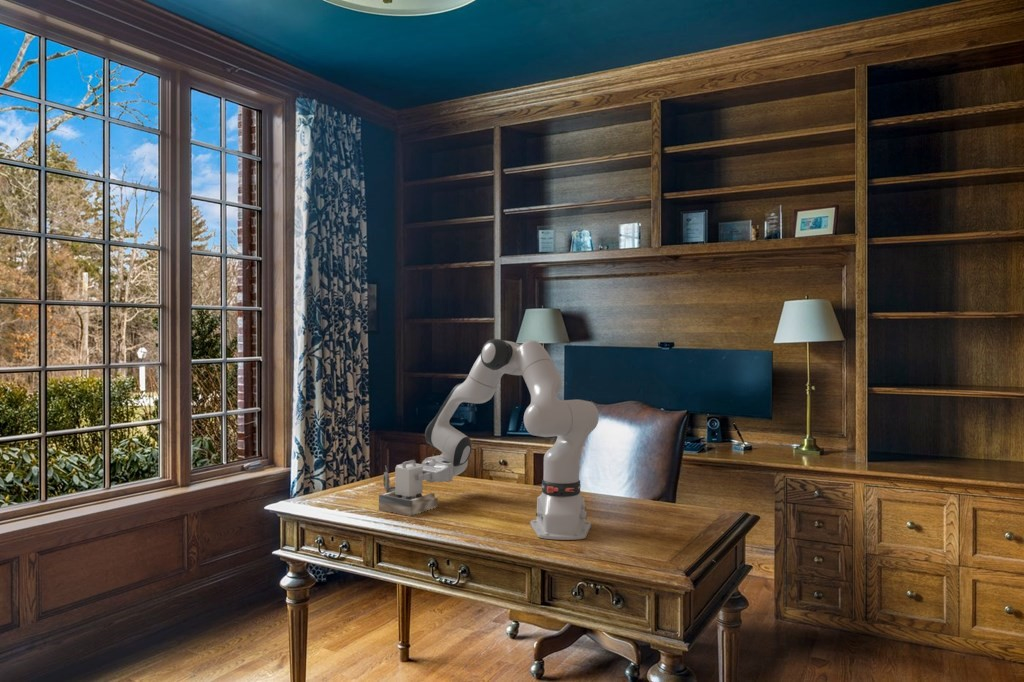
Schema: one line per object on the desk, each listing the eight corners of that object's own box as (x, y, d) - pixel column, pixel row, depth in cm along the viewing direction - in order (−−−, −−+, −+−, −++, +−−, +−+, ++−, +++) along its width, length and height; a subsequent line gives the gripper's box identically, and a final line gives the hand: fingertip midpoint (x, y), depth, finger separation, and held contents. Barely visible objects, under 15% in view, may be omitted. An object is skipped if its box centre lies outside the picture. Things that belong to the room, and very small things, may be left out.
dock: (406, 501, 241) (406, 487, 241) (437, 507, 233) (437, 492, 233) (378, 510, 229) (378, 495, 229) (410, 516, 222) (410, 501, 222)
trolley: (408, 495, 236) (409, 458, 236) (423, 498, 233) (423, 460, 232) (394, 500, 230) (394, 461, 230) (408, 502, 227) (409, 463, 226)
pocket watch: (408, 490, 257) (408, 464, 257) (392, 495, 250) (392, 468, 250) (392, 488, 262) (392, 461, 262) (376, 492, 255) (376, 465, 255)
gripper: (411, 457, 248) (384, 463, 236) (456, 463, 237) (430, 470, 225) (410, 474, 248) (384, 481, 236) (455, 481, 237) (430, 489, 225)
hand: (407, 476), depth 231 cm, fingers open, 8 cm apart
